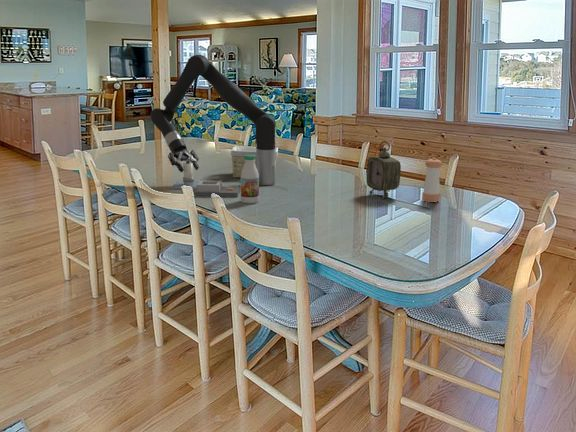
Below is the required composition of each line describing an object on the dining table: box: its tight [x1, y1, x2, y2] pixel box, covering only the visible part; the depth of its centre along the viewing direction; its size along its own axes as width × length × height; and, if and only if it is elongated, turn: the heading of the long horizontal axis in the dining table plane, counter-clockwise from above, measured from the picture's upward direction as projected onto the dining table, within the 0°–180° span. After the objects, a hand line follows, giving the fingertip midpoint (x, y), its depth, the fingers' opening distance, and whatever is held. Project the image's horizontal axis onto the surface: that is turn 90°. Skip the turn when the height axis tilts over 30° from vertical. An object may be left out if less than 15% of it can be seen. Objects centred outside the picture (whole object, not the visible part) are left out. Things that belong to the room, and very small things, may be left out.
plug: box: [182, 160, 195, 185], centre depth 259 cm, size 5×5×12 cm
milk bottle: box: [240, 155, 260, 205], centre depth 231 cm, size 8×8×20 cm
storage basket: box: [230, 145, 279, 179], centre depth 286 cm, size 24×16×15 cm
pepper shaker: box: [421, 157, 443, 203], centre depth 238 cm, size 7×7×19 cm
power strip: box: [192, 180, 241, 198], centre depth 246 cm, size 20×12×5 cm, turn 90°
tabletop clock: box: [366, 140, 402, 200], centre depth 244 cm, size 14×9×25 cm, turn 24°
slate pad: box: [170, 180, 200, 191], centre depth 260 cm, size 14×14×1 cm
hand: (190, 170), depth 257 cm, fingers open, 8 cm apart
